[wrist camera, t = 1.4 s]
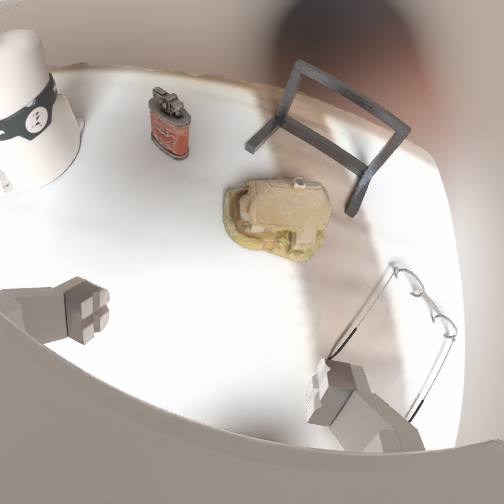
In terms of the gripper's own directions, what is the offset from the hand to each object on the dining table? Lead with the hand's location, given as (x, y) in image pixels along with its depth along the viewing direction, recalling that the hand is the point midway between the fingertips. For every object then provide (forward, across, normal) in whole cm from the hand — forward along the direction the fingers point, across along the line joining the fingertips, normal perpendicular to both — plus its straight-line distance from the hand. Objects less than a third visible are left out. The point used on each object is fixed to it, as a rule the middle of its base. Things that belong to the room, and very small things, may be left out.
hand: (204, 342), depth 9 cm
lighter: (+32, +18, -8) cm, 38 cm away
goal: (+39, -4, -11) cm, 41 cm away
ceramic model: (+30, -1, 0) cm, 30 cm away
